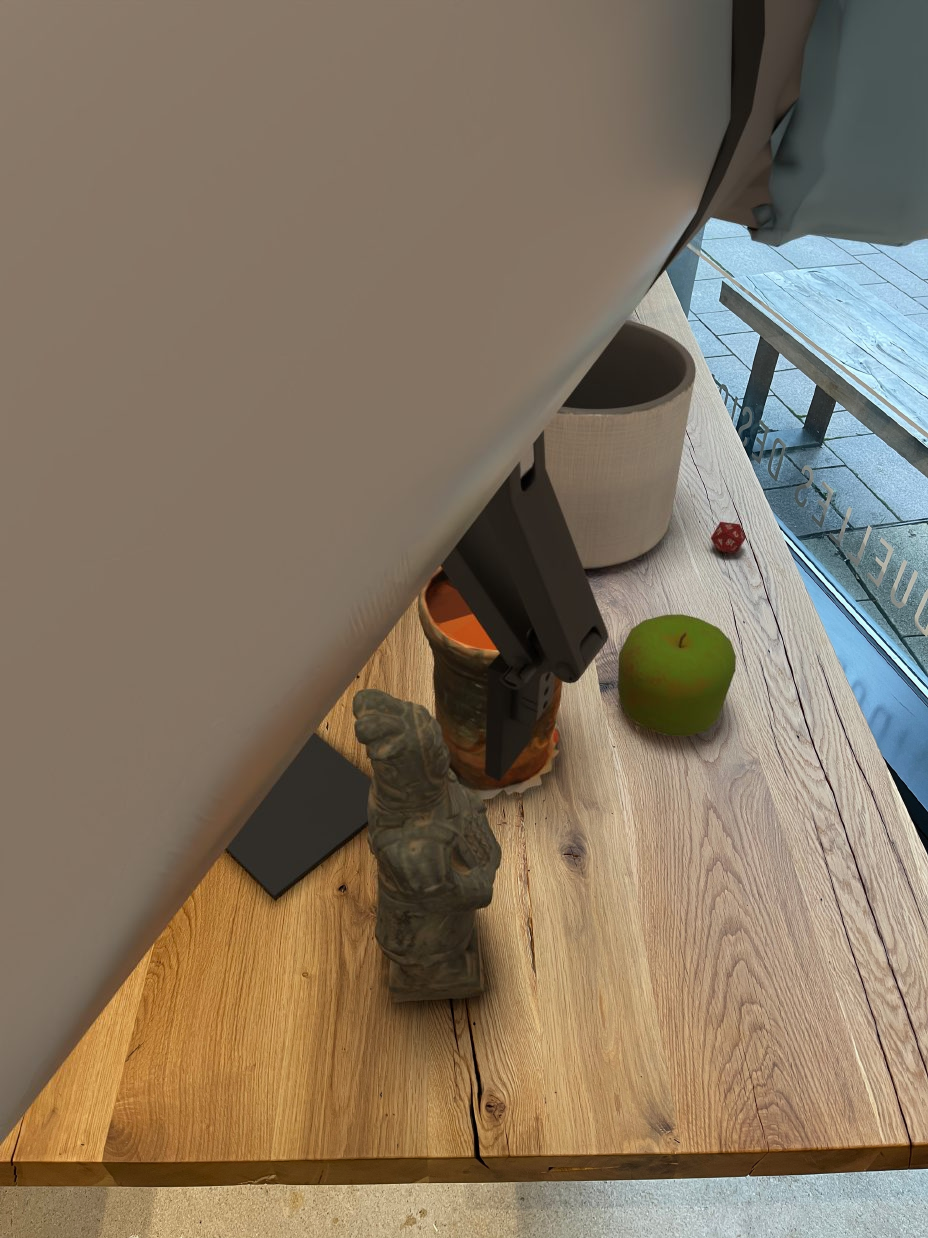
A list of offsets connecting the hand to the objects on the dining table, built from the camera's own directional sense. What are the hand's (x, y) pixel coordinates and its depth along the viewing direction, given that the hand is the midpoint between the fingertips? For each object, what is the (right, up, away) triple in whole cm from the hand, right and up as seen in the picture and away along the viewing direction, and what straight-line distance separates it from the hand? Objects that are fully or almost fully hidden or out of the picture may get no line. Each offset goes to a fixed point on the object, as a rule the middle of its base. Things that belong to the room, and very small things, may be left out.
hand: (382, 697), depth 43 cm
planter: (+18, +17, +77) cm, 80 cm away
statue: (+2, -24, +31) cm, 39 cm away
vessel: (+7, -9, +48) cm, 49 cm away
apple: (+25, -6, +51) cm, 57 cm away
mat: (-15, -12, +44) cm, 48 cm away
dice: (+36, +12, +71) cm, 81 cm away
